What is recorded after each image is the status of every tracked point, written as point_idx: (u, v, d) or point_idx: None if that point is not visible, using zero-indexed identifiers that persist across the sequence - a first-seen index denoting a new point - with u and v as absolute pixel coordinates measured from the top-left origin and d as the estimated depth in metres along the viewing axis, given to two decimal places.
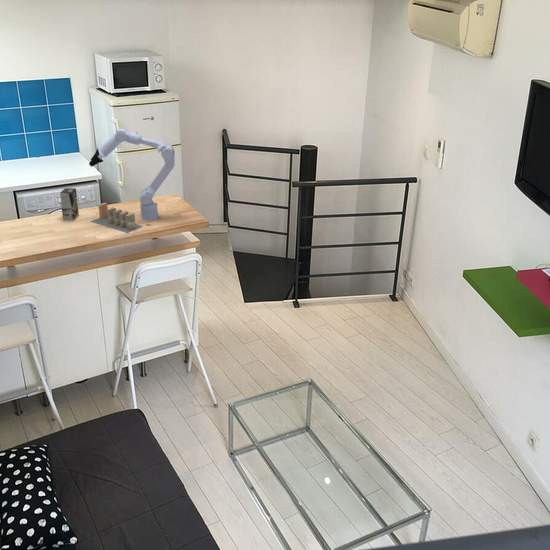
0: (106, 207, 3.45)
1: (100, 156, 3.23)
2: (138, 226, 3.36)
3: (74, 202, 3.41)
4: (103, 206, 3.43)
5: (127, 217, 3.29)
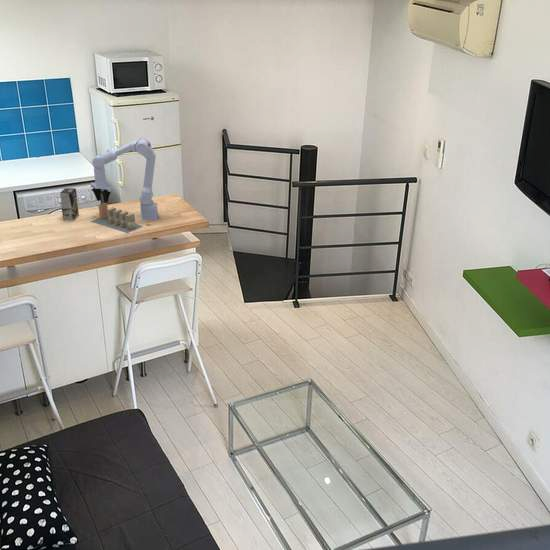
0: (106, 207, 3.45)
1: (110, 189, 3.35)
2: (138, 226, 3.36)
3: (74, 202, 3.41)
4: (103, 206, 3.43)
5: (127, 217, 3.29)
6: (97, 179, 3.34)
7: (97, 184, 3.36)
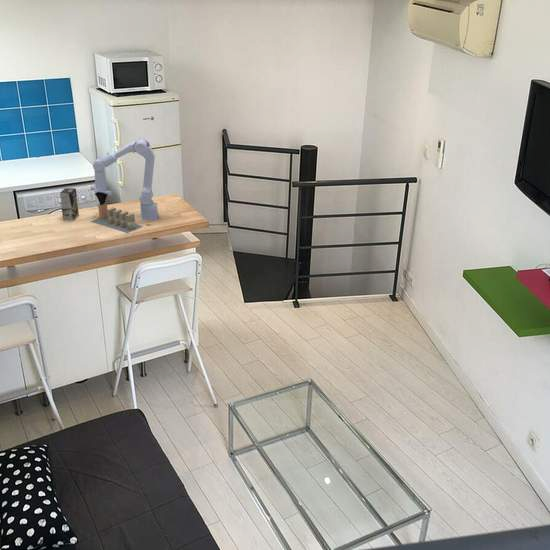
0: (106, 207, 3.45)
1: (110, 193, 3.36)
2: (138, 226, 3.36)
3: (74, 202, 3.41)
4: (103, 206, 3.43)
5: (127, 217, 3.29)
6: (97, 182, 3.35)
7: (97, 187, 3.37)
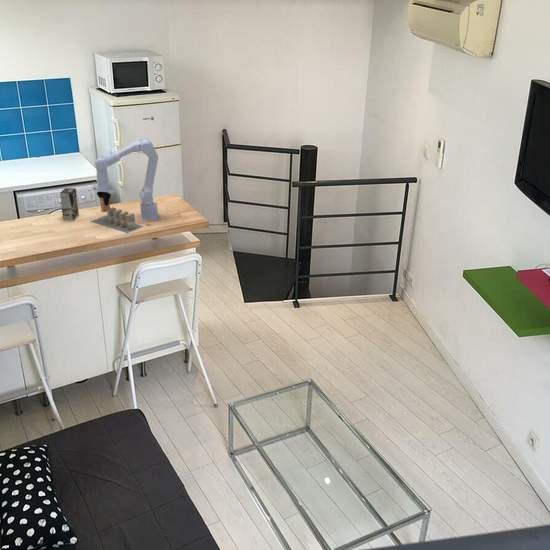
0: None
1: (113, 192, 3.31)
2: (138, 226, 3.36)
3: (74, 202, 3.41)
4: None
5: (127, 217, 3.29)
6: (100, 182, 3.30)
7: (100, 187, 3.31)
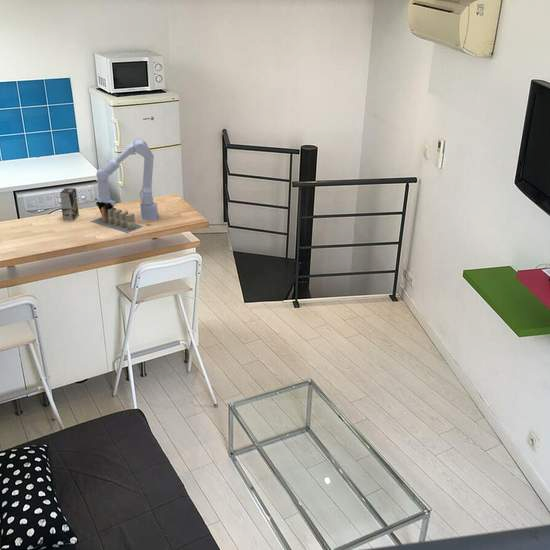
0: None
1: (114, 203, 3.34)
2: (138, 226, 3.36)
3: (74, 202, 3.41)
4: (105, 209, 3.39)
5: (127, 217, 3.29)
6: (101, 193, 3.33)
7: (101, 198, 3.34)
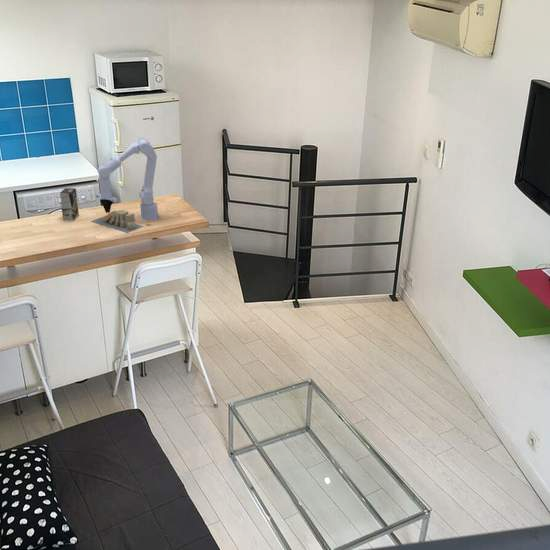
0: None
1: (115, 200, 3.32)
2: (138, 226, 3.36)
3: (74, 202, 3.41)
4: None
5: (127, 217, 3.29)
6: (102, 190, 3.31)
7: (102, 195, 3.33)
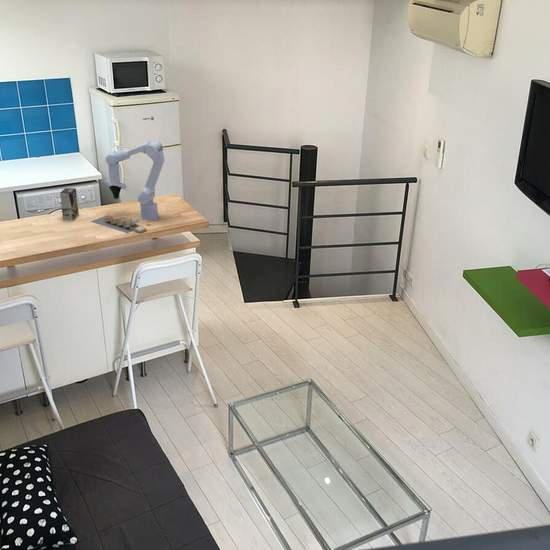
0: None
1: (124, 186, 3.41)
2: None
3: (74, 202, 3.41)
4: None
5: (139, 232, 3.28)
6: (111, 176, 3.40)
7: (111, 181, 3.41)
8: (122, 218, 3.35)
